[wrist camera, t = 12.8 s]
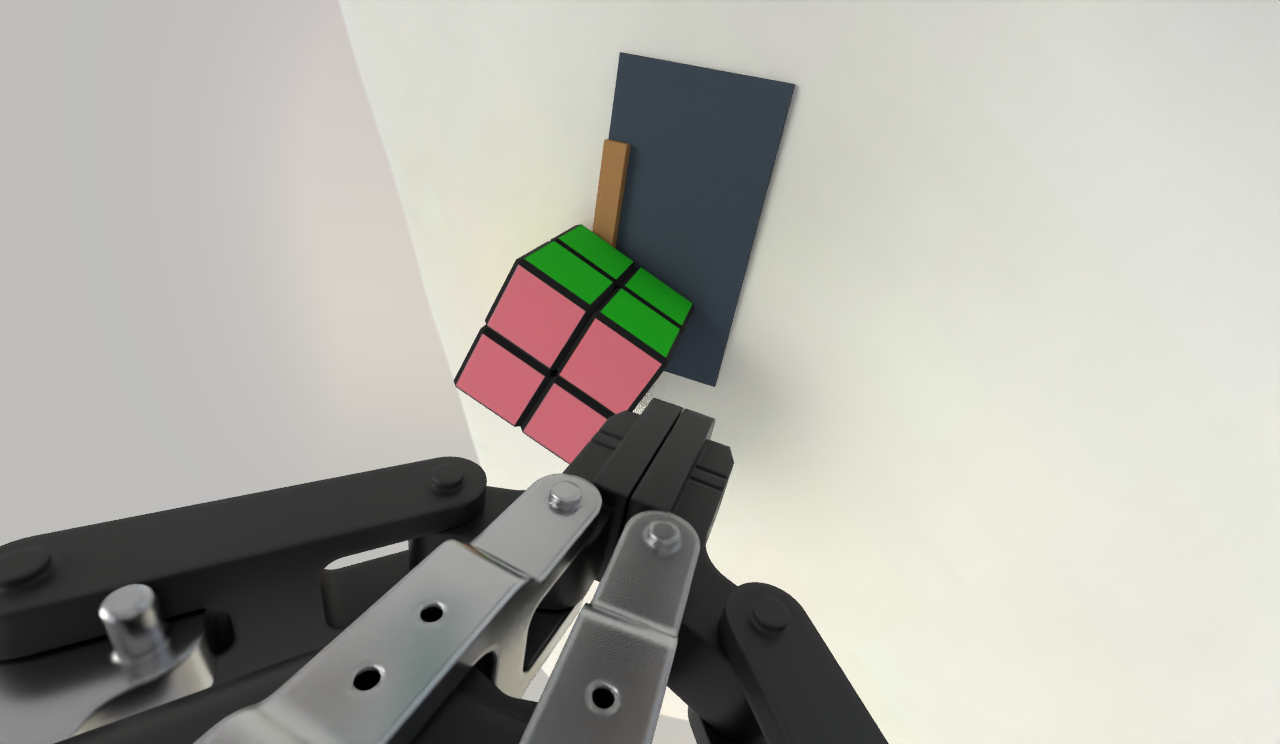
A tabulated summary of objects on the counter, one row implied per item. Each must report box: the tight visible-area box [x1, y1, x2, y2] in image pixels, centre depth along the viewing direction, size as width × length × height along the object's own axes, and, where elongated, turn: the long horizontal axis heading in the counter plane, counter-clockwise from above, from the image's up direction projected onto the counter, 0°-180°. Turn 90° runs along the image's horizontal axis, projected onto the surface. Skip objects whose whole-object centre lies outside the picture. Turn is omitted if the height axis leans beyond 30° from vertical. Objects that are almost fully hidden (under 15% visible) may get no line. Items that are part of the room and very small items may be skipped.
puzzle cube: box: [454, 224, 694, 464], centre depth 37 cm, size 10×10×10 cm
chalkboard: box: [593, 52, 795, 387], centre depth 38 cm, size 21×11×1 cm, turn 170°
